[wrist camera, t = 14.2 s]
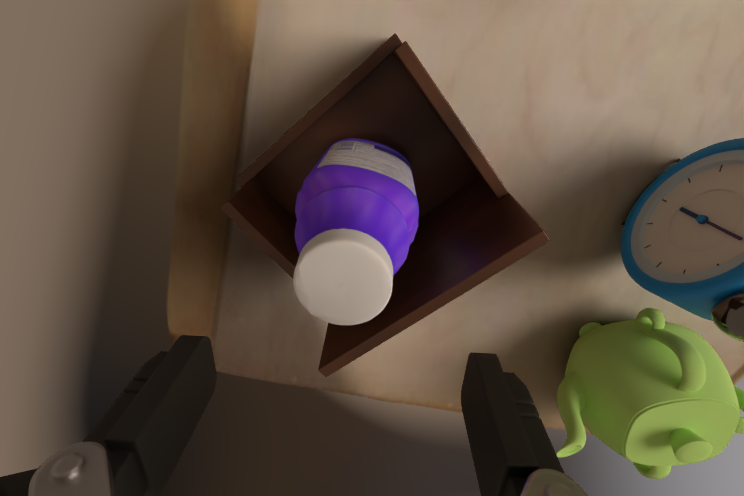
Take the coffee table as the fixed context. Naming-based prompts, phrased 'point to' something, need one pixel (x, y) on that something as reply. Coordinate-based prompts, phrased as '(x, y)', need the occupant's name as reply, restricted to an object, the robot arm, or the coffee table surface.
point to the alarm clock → (693, 236)
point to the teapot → (648, 394)
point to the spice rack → (432, 184)
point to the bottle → (353, 230)
